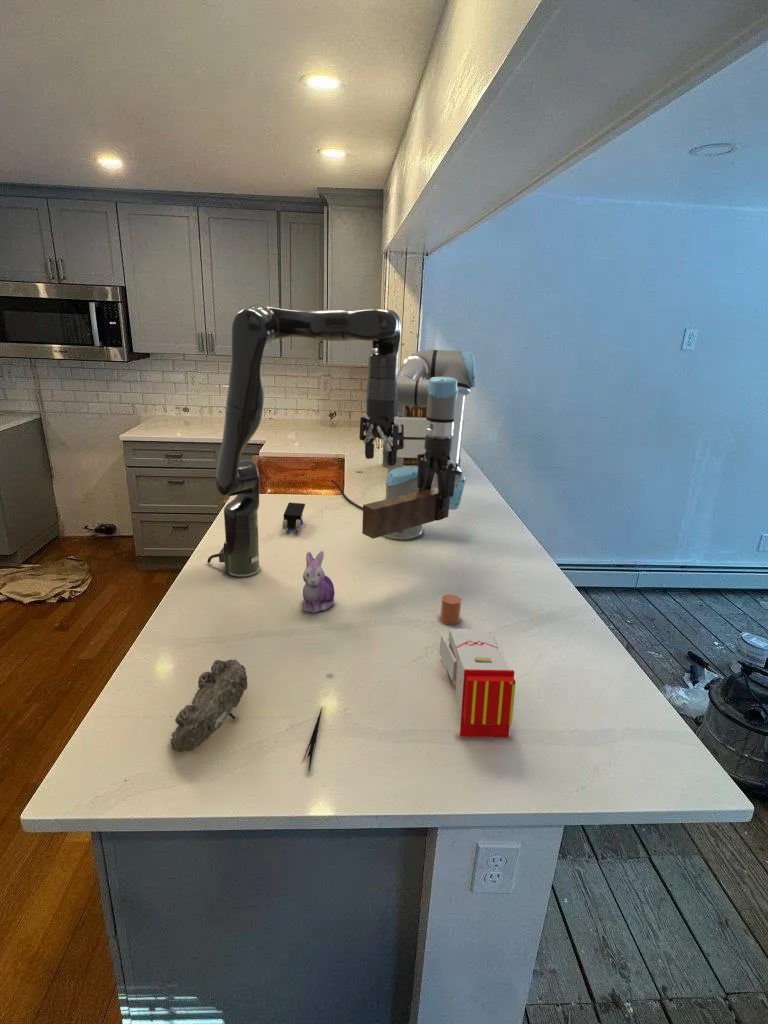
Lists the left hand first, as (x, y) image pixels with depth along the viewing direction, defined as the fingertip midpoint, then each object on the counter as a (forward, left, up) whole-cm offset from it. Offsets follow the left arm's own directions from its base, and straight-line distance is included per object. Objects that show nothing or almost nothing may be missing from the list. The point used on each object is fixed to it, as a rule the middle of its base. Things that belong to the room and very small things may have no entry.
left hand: (380, 461), depth 142 cm
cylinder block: (+20, -9, -38) cm, 44 cm away
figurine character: (-30, +48, -38) cm, 68 cm away
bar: (+8, +7, -19) cm, 22 cm away
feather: (-9, -49, -38) cm, 63 cm away
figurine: (-15, -5, -38) cm, 42 cm away
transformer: (+16, +127, -38) cm, 134 cm away
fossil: (-28, -50, -38) cm, 69 cm away
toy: (+22, -39, -38) cm, 59 cm away
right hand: (+15, +14, -19) cm, 28 cm away
